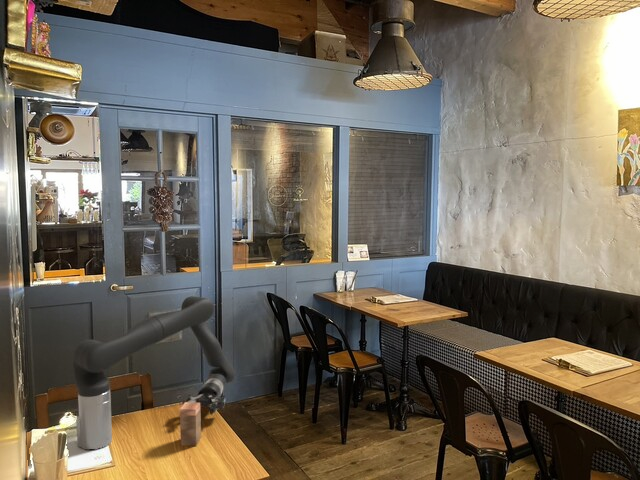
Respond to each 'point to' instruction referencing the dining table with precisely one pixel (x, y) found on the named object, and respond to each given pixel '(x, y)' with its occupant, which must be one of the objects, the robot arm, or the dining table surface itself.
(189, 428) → the walnut block
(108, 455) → the dining table surface
